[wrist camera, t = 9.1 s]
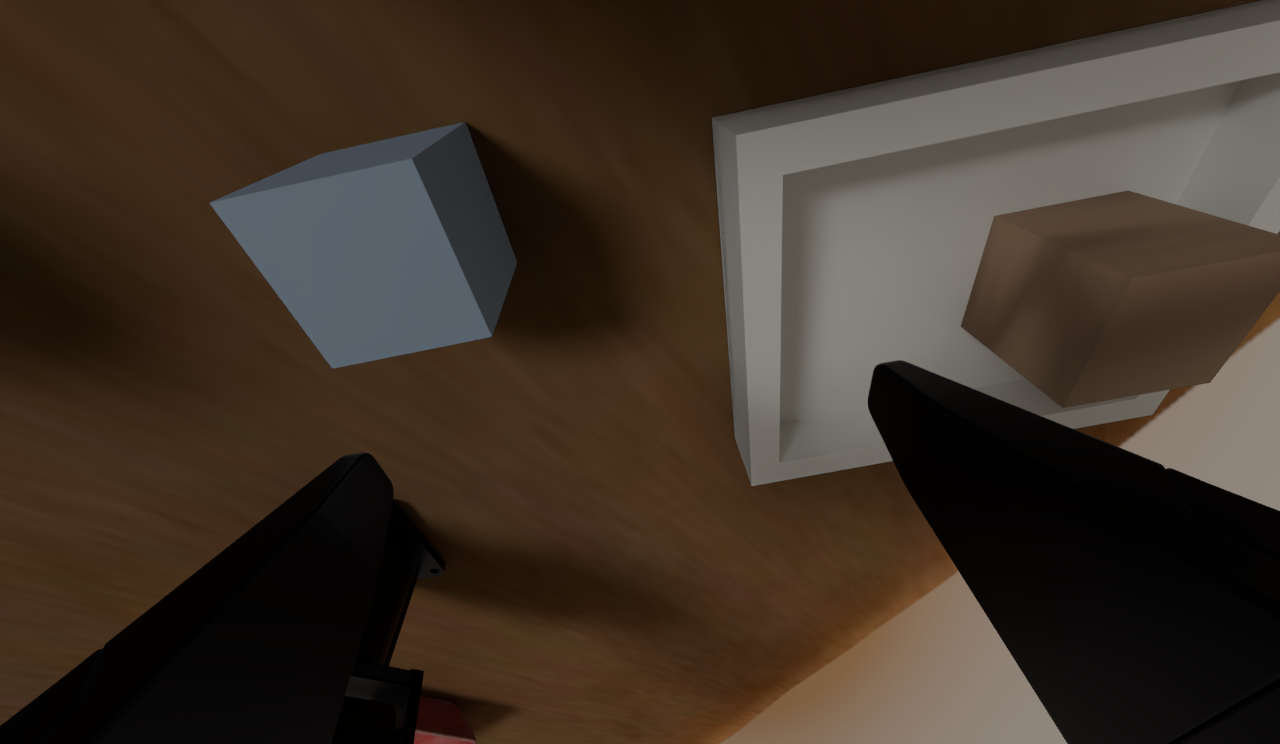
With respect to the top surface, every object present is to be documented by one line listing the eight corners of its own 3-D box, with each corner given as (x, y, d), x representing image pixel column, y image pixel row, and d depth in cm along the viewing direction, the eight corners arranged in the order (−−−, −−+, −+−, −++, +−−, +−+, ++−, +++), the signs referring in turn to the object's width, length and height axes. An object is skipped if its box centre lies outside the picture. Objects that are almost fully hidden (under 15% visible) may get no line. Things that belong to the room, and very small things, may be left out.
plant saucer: (186, 727, 39) (155, 778, 36) (257, 645, 31) (225, 702, 29) (394, 754, 47) (382, 798, 44) (488, 695, 39) (481, 742, 37)
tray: (1090, 372, 21) (1152, 414, 19) (734, 437, 22) (751, 486, 20) (1292, -7, 13) (1448, -16, 11) (711, 117, 14) (736, 135, 11)
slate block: (517, 262, 16) (491, 336, 12) (396, 286, 16) (332, 368, 12) (465, 121, 13) (412, 158, 9) (322, 153, 14) (209, 203, 10)
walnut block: (1074, 305, 18) (1210, 382, 14) (960, 326, 18) (1062, 408, 14) (1128, 190, 15) (1314, 244, 11) (994, 215, 16) (1131, 278, 12)
